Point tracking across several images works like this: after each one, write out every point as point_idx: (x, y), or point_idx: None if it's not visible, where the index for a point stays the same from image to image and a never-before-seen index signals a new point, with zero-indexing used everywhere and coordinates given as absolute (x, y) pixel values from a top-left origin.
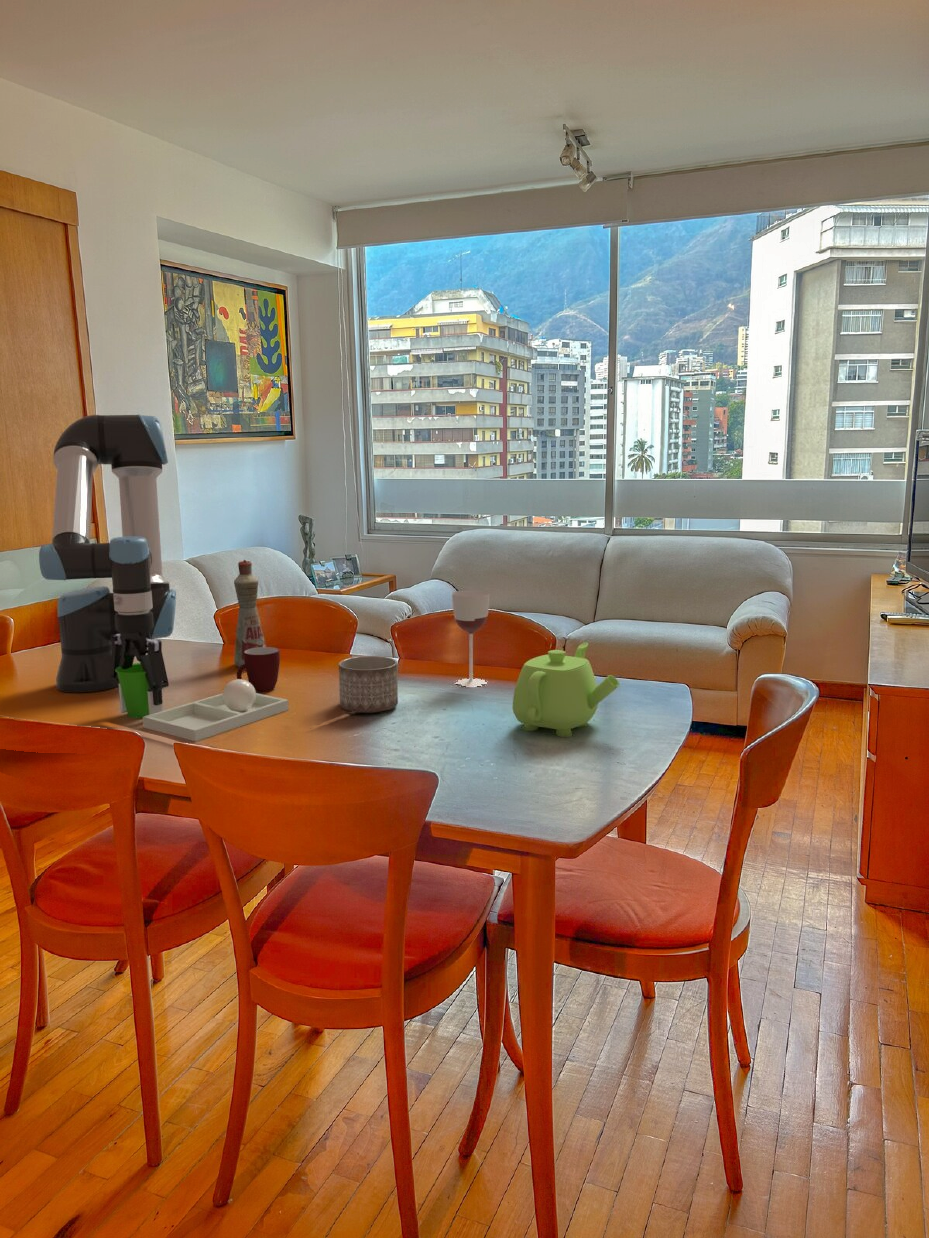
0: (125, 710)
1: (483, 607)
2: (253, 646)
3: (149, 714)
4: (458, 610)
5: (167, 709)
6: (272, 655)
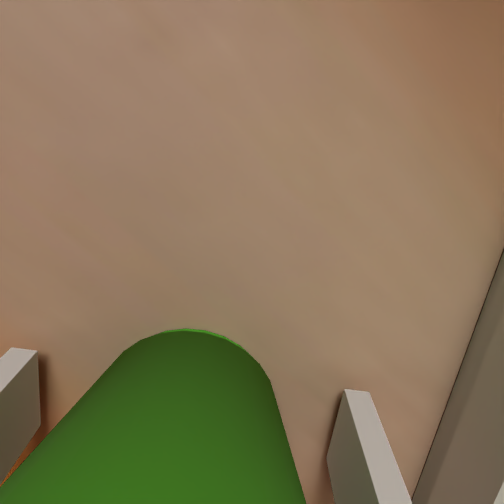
0: (30, 418)
1: None
2: None
3: (335, 495)
4: None
5: (495, 494)
6: None
